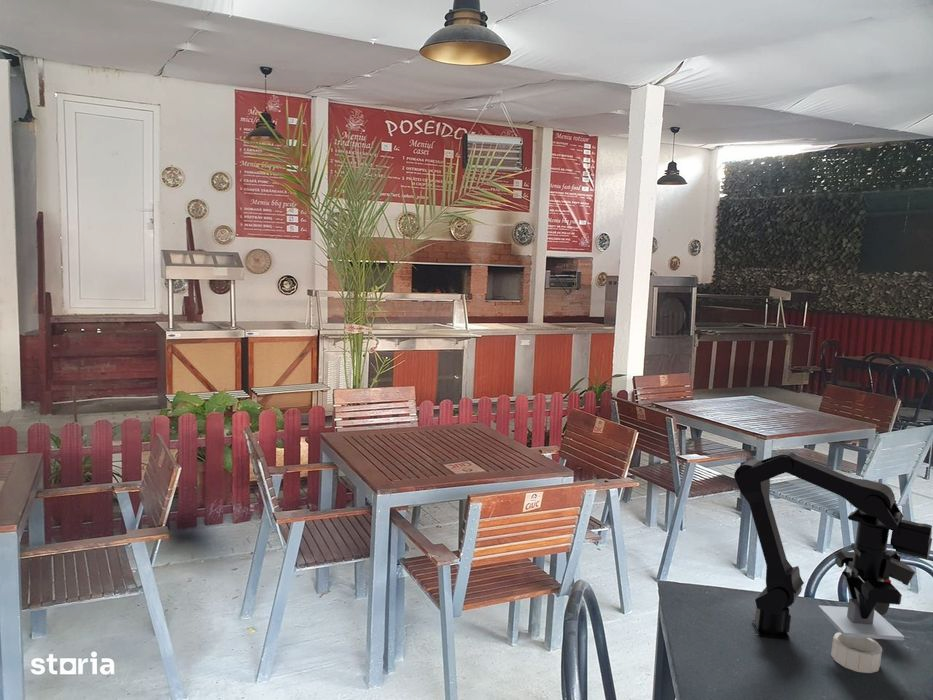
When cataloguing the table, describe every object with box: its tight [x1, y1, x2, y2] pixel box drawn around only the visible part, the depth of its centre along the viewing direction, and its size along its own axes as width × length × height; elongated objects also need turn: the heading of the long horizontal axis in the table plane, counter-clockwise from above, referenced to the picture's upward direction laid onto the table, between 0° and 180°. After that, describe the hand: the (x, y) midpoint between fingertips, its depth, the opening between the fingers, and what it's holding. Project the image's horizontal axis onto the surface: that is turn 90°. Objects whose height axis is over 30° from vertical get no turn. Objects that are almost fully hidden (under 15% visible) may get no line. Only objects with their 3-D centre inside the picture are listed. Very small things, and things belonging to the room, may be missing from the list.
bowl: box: [830, 631, 883, 674], centre depth 156 cm, size 9×9×4 cm
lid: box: [817, 598, 905, 641], centre depth 154 cm, size 12×12×5 cm
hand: (861, 614), depth 154 cm, fingers closed on lid, 3 cm apart
